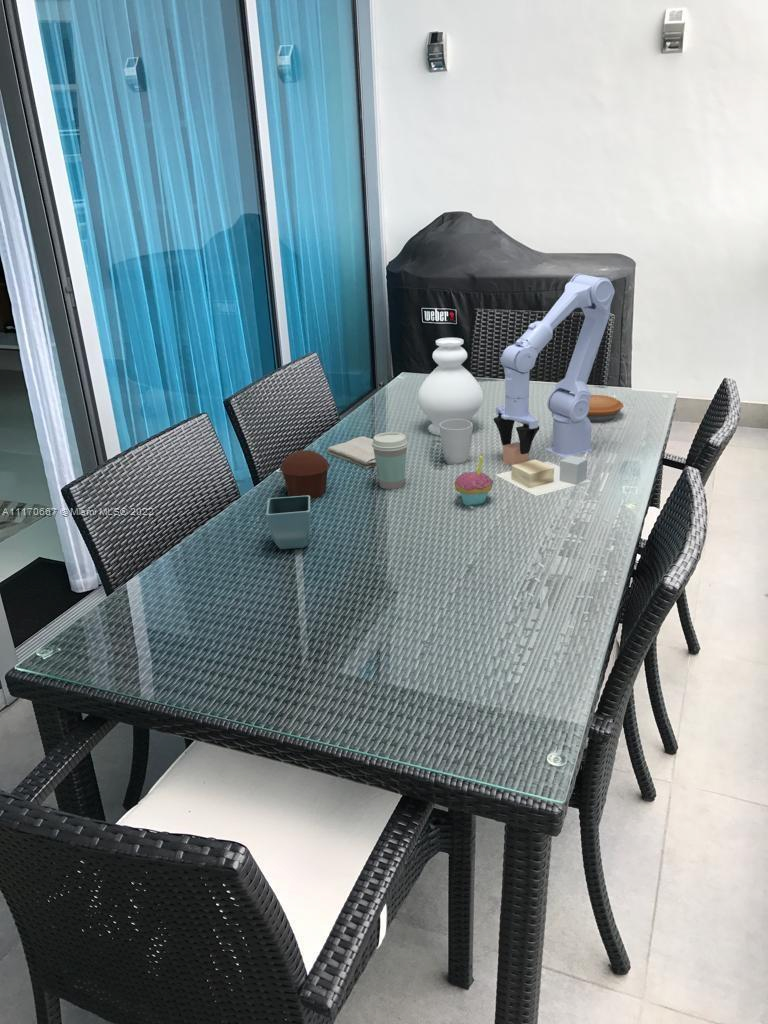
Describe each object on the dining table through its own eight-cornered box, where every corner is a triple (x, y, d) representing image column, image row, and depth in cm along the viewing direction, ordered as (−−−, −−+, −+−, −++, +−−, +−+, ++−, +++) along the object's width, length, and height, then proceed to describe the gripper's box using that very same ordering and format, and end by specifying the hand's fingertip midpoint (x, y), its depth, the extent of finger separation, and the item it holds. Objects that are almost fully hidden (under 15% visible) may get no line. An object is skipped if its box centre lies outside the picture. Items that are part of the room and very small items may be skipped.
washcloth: (369, 471, 219) (368, 460, 218) (325, 455, 232) (324, 444, 230) (404, 459, 226) (403, 448, 225) (359, 444, 239) (359, 433, 237)
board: (548, 463, 218) (548, 461, 217) (591, 483, 205) (591, 481, 204) (495, 477, 211) (495, 474, 211) (536, 498, 198) (536, 496, 198)
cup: (472, 456, 225) (472, 419, 220) (472, 467, 217) (472, 429, 213) (441, 456, 225) (440, 419, 221) (439, 467, 218) (439, 429, 214)
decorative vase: (485, 438, 237) (485, 347, 227) (419, 440, 238) (417, 349, 228) (479, 418, 253) (480, 332, 243) (418, 420, 254) (416, 334, 244)
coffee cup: (415, 480, 211) (413, 433, 206) (400, 493, 204) (398, 444, 199) (383, 476, 214) (380, 429, 210) (367, 488, 207) (365, 440, 203)
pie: (567, 424, 245) (568, 407, 243) (566, 408, 259) (567, 391, 257) (624, 425, 243) (625, 407, 241) (620, 408, 257) (621, 392, 255)
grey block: (569, 474, 208) (570, 455, 206) (586, 478, 206) (587, 459, 204) (559, 480, 205) (560, 460, 203) (576, 484, 203) (577, 464, 201)
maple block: (535, 473, 210) (535, 459, 209) (553, 481, 205) (554, 467, 203) (511, 479, 207) (511, 465, 206) (529, 488, 202) (529, 474, 200)
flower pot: (271, 536, 185) (267, 497, 182) (313, 533, 186) (310, 494, 182) (270, 555, 177) (265, 514, 173) (313, 551, 178) (310, 511, 174)
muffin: (273, 499, 204) (269, 458, 200) (294, 482, 213) (291, 443, 209) (320, 504, 200) (317, 463, 196) (339, 486, 210) (336, 447, 206)
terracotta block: (517, 460, 221) (517, 441, 219) (528, 465, 217) (528, 446, 215) (502, 464, 219) (503, 445, 217) (513, 469, 215) (513, 450, 213)
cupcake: (496, 497, 199) (496, 447, 195) (487, 511, 192) (488, 460, 187) (459, 493, 202) (459, 444, 197) (450, 508, 195) (449, 457, 190)
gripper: (485, 391, 215) (485, 444, 220) (521, 405, 203) (520, 460, 208) (509, 387, 218) (508, 438, 223) (545, 400, 206) (543, 454, 212)
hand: (515, 449), depth 216 cm, fingers open, 7 cm apart
